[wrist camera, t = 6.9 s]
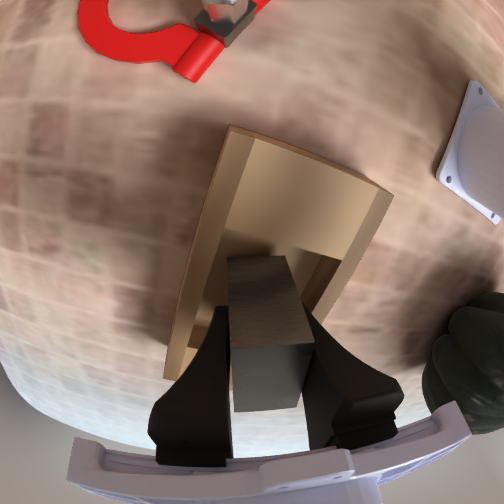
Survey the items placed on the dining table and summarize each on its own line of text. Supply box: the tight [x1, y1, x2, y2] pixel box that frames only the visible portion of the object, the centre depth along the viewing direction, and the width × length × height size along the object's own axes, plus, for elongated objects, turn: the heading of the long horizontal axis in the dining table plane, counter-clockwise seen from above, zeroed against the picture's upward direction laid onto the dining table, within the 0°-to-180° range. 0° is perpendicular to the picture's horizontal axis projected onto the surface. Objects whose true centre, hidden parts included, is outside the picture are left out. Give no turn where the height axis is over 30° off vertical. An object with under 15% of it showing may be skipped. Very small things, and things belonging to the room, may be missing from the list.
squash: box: [422, 292, 504, 435], centre depth 18 cm, size 14×15×15 cm
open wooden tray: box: [163, 125, 394, 390], centre depth 16 cm, size 8×16×3 cm, turn 161°
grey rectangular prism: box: [227, 255, 315, 412], centre depth 13 cm, size 3×5×6 cm, turn 179°
